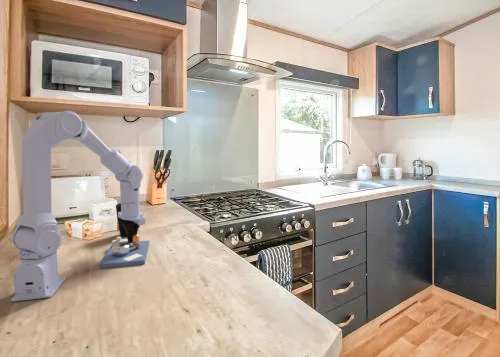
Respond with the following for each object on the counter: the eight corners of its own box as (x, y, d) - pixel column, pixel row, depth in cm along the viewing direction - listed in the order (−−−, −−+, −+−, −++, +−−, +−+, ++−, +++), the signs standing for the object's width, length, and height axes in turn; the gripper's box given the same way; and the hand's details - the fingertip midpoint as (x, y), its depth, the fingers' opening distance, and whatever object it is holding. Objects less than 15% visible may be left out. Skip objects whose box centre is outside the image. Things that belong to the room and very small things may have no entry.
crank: (118, 257, 85) (118, 243, 85) (108, 254, 88) (108, 240, 87) (143, 248, 93) (143, 235, 92) (133, 245, 96) (133, 232, 95)
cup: (130, 238, 107) (129, 207, 106) (112, 237, 108) (111, 206, 107) (142, 232, 114) (141, 203, 113) (125, 231, 116) (123, 202, 115)
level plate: (144, 264, 84) (144, 250, 84) (100, 268, 81) (99, 254, 80) (149, 243, 101) (149, 232, 101) (112, 246, 98) (112, 235, 98)
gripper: (153, 203, 91) (155, 244, 92) (131, 197, 100) (133, 234, 102) (132, 206, 85) (134, 250, 87) (110, 200, 95) (113, 239, 96)
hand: (132, 242), depth 94 cm, fingers closed, pressing on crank
